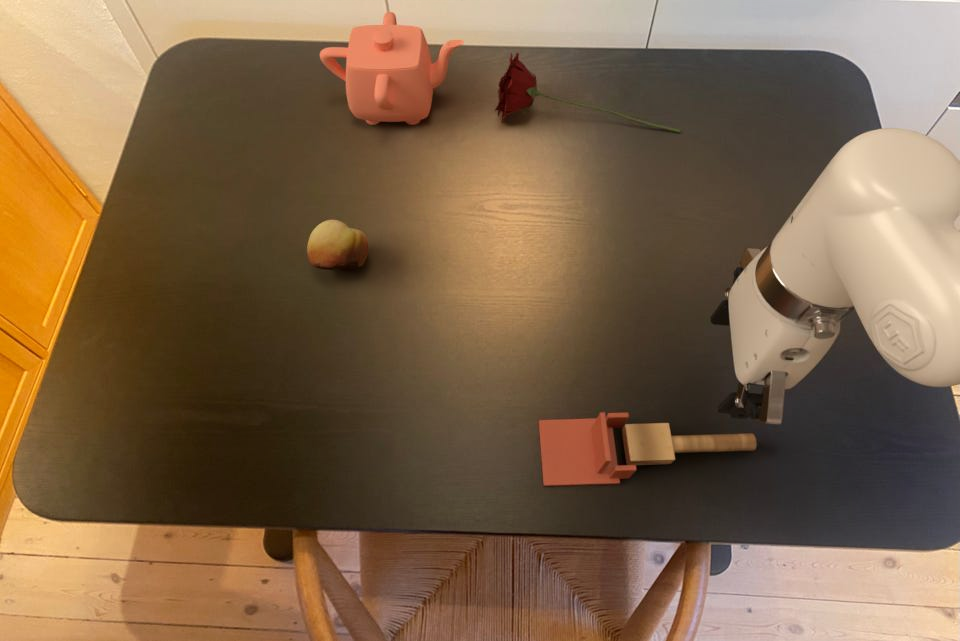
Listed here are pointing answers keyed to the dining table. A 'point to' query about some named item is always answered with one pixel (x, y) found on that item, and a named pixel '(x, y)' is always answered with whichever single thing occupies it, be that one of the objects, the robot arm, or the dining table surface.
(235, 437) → the dining table surface
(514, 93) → the flower
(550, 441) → the brush stand
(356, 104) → the teapot
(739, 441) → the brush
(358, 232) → the fruit
